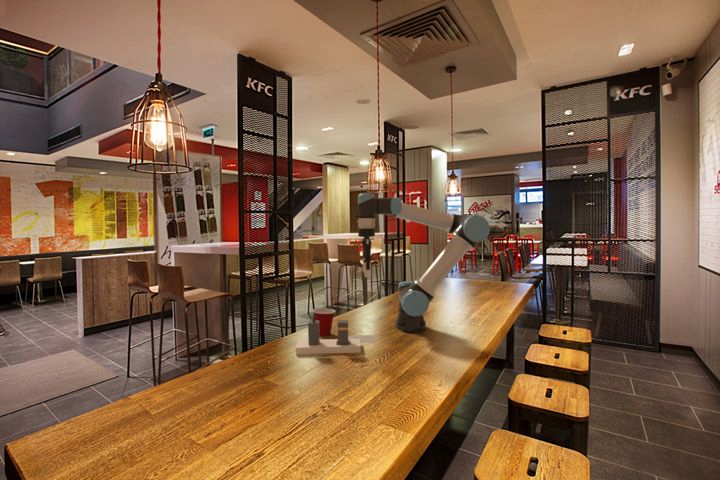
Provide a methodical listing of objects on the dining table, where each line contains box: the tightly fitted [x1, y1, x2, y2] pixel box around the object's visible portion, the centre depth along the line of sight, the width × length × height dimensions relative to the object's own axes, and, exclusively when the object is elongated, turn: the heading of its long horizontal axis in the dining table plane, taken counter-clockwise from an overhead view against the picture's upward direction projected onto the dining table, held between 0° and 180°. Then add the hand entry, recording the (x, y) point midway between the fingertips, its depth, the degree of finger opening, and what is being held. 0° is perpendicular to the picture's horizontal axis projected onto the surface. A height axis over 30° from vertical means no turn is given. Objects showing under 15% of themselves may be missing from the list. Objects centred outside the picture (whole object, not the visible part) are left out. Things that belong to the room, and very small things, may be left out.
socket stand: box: [295, 313, 362, 356], centre depth 150 cm, size 26×9×15 cm, turn 92°
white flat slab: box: [348, 334, 376, 344], centre depth 163 cm, size 12×10×1 cm
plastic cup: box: [312, 307, 337, 337], centre depth 170 cm, size 11×11×12 cm
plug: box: [337, 319, 349, 345], centre depth 151 cm, size 4×4×12 cm
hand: (366, 274), depth 166 cm, fingers open, 13 cm apart
